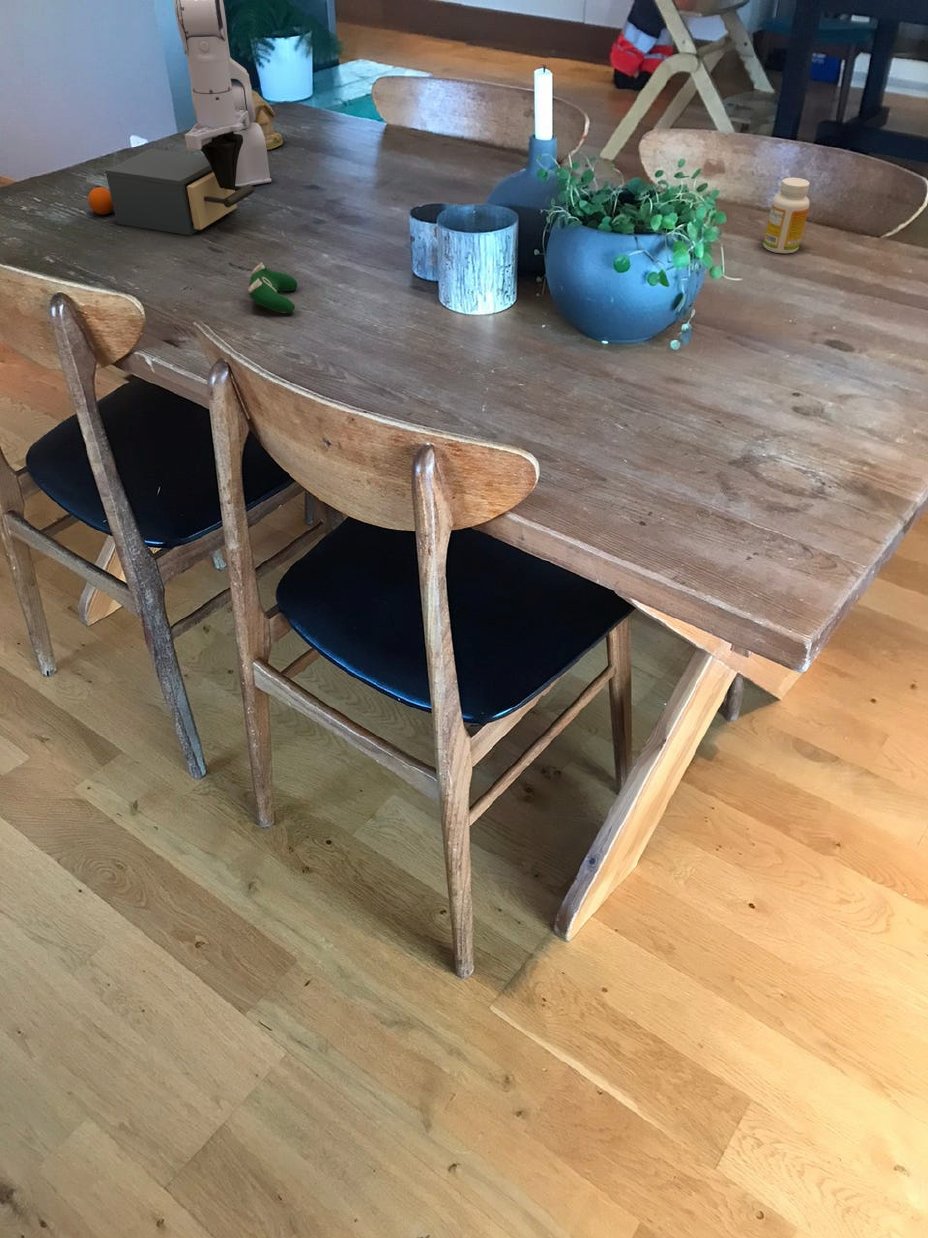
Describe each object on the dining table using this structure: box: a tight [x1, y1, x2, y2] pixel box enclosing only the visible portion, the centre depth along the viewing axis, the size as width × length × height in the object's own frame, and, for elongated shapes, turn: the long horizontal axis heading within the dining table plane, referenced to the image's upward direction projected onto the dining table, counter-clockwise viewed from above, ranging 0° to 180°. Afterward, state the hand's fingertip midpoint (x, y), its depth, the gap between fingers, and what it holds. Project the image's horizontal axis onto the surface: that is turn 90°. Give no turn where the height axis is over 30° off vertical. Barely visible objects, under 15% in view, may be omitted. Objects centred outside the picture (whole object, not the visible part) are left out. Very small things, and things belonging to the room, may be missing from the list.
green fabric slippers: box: [247, 261, 298, 315], centre depth 126 cm, size 9×4×6 cm
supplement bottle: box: [762, 177, 811, 254], centre depth 140 cm, size 5×5×10 cm
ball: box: [88, 186, 114, 215], centre depth 150 cm, size 4×4×4 cm
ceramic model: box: [252, 89, 283, 151], centre depth 178 cm, size 14×11×10 cm
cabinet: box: [104, 148, 212, 236], centre depth 148 cm, size 14×12×8 cm
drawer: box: [184, 170, 255, 231], centre depth 147 cm, size 17×11×6 cm, turn 69°
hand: (227, 187), depth 144 cm, fingers closed
